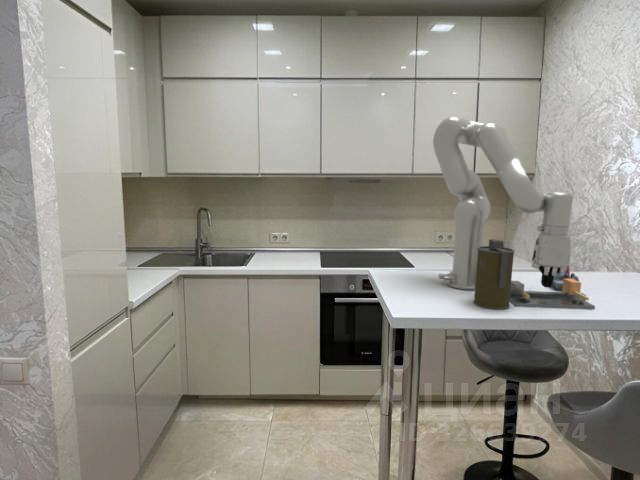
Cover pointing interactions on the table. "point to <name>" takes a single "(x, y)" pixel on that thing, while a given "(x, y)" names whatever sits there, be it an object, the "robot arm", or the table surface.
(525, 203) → the robot arm
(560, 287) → the brake caliper
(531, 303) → the strip
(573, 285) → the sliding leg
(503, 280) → the canister
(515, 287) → the fixed leg
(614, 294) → the table surface
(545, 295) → the rail
